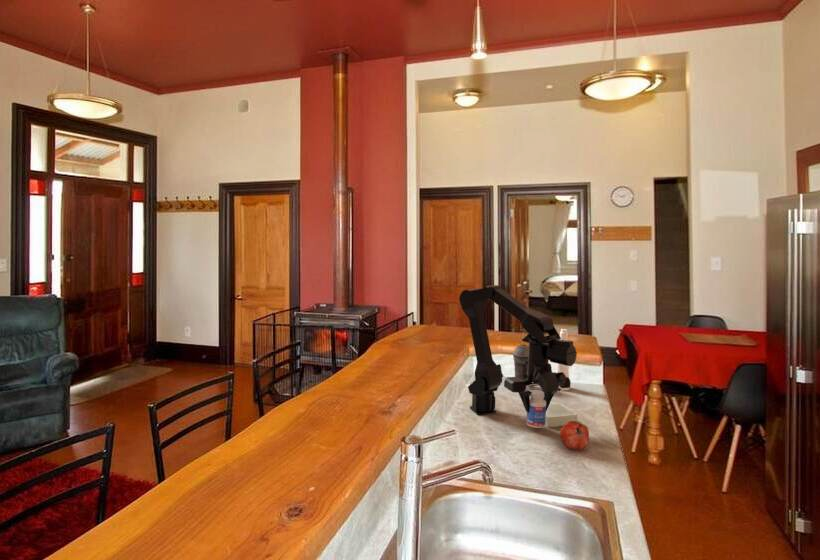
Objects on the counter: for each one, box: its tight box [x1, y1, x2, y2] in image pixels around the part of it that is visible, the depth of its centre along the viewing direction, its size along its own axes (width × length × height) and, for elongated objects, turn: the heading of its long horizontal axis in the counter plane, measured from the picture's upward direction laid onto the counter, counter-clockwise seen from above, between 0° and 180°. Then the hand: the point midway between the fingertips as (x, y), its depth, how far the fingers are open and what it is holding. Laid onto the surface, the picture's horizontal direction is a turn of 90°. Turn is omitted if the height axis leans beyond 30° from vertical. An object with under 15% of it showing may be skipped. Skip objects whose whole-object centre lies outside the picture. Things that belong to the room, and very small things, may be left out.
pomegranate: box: [559, 421, 590, 451], centre depth 131 cm, size 7×7×10 cm
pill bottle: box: [525, 389, 546, 429], centre depth 143 cm, size 6×5×10 cm
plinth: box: [544, 402, 578, 428], centre depth 151 cm, size 10×10×3 cm
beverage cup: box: [512, 332, 529, 380], centre depth 182 cm, size 7×7×20 cm
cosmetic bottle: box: [555, 328, 571, 391], centre depth 180 cm, size 6×6×22 cm
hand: (536, 411), depth 143 cm, fingers closed on pill bottle, 5 cm apart
